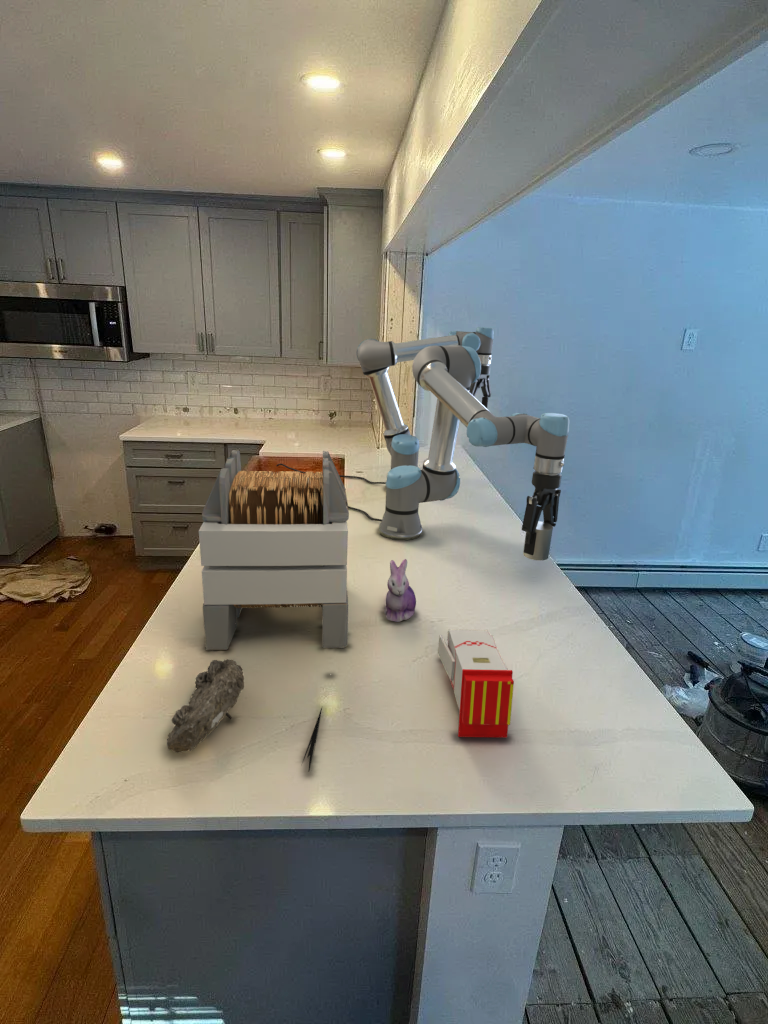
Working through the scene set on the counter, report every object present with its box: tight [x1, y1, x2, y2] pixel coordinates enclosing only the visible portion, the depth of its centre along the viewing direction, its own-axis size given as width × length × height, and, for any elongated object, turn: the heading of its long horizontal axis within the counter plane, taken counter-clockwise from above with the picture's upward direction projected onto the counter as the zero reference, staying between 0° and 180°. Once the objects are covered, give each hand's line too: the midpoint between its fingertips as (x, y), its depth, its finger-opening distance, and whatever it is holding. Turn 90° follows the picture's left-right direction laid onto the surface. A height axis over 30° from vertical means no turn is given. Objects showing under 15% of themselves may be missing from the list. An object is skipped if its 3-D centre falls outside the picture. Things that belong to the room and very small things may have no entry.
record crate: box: [198, 449, 350, 651], centre depth 138 cm, size 34×33×41 cm
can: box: [522, 520, 554, 562], centre depth 159 cm, size 7×7×9 cm
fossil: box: [166, 658, 245, 754], centre depth 106 cm, size 22×10×15 cm
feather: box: [301, 673, 332, 771], centre depth 108 cm, size 2×28×2 cm
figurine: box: [384, 558, 417, 623], centre depth 145 cm, size 9×10×15 cm
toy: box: [437, 628, 515, 738], centre depth 117 cm, size 12×13×30 cm
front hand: (536, 550), depth 160 cm, fingers closed on can, 7 cm apart
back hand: (477, 413), depth 254 cm, fingers open, 13 cm apart
